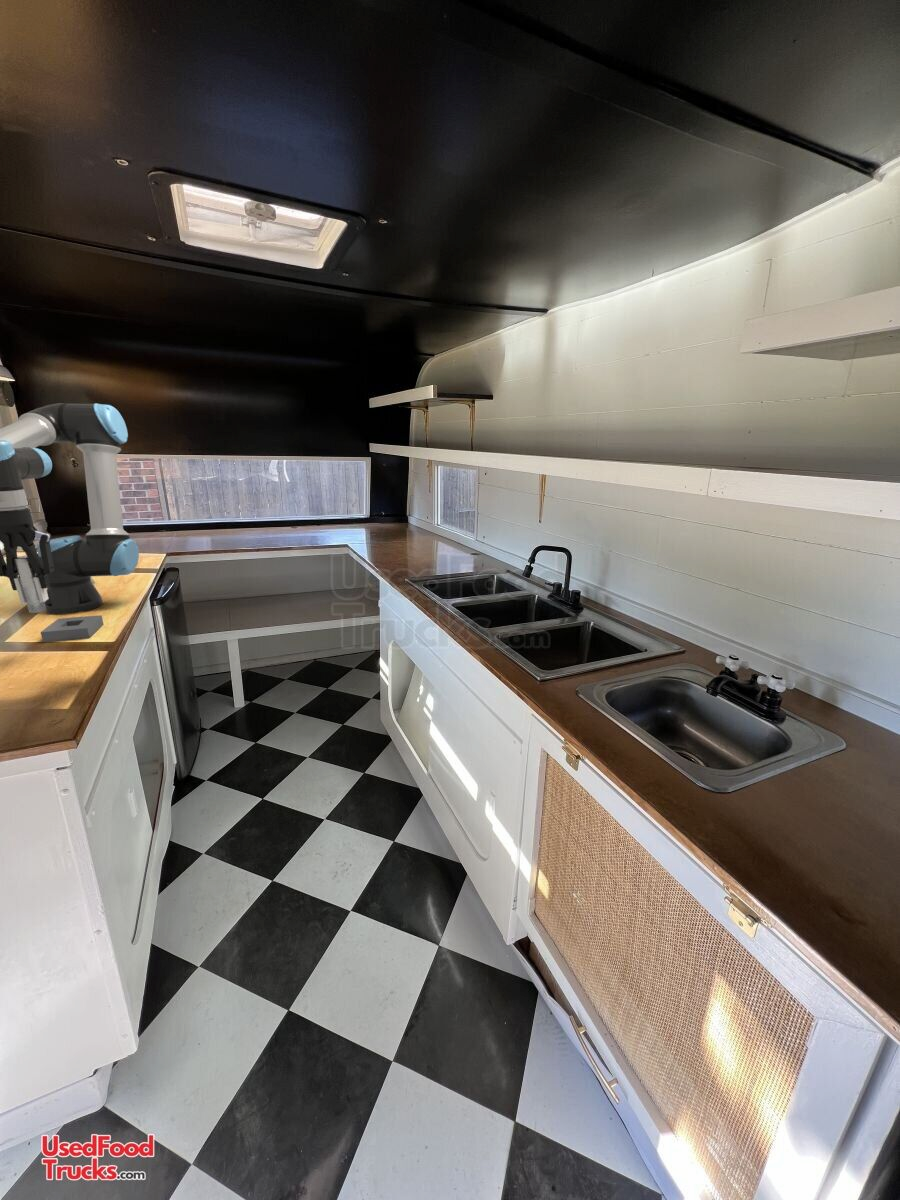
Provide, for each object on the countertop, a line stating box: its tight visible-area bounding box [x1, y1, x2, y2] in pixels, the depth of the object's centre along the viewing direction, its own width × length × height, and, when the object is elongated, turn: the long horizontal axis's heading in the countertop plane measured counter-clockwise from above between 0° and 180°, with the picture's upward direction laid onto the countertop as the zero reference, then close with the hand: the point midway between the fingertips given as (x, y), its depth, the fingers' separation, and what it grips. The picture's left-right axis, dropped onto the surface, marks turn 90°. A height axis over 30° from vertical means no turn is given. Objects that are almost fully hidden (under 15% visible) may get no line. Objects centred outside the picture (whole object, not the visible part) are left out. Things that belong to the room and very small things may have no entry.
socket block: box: [40, 614, 104, 643], centre depth 139 cm, size 11×11×3 cm
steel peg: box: [14, 555, 46, 614], centre depth 121 cm, size 3×3×14 cm
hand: (35, 601), depth 123 cm, fingers closed on steel peg, 3 cm apart
